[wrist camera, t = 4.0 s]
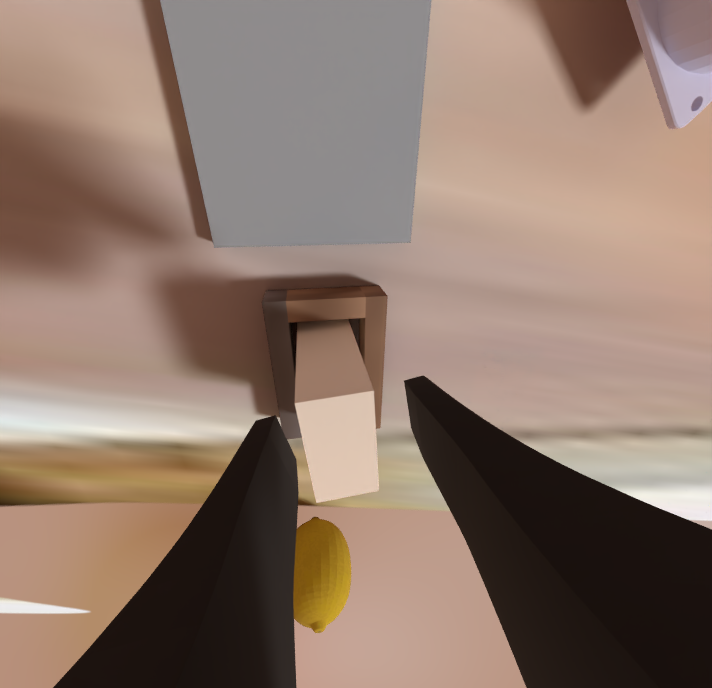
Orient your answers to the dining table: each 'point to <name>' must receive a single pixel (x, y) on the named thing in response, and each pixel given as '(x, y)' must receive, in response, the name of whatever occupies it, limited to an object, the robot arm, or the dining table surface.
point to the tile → (303, 116)
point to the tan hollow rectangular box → (318, 307)
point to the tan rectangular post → (335, 410)
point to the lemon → (320, 574)
